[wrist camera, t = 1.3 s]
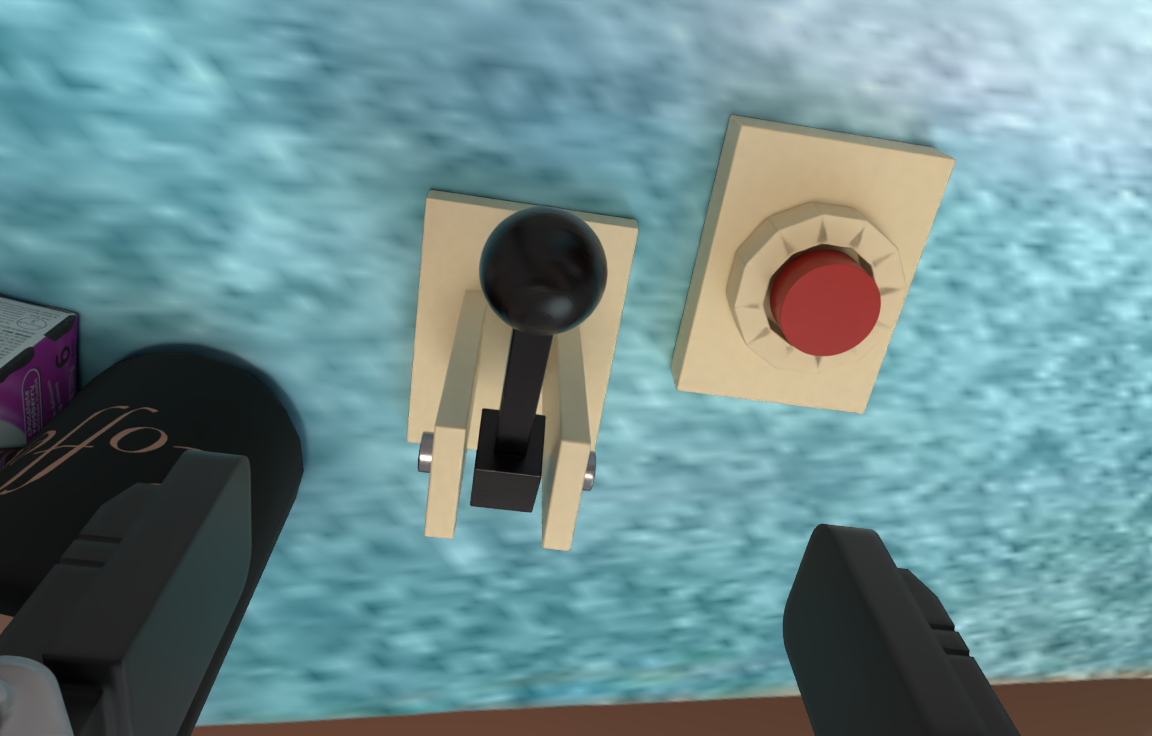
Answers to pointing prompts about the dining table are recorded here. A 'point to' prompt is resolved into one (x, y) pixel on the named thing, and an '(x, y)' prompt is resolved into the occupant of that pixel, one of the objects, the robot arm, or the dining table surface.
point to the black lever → (530, 338)
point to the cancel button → (825, 302)
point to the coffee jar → (144, 468)
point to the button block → (789, 229)
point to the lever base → (504, 363)
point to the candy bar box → (33, 370)
